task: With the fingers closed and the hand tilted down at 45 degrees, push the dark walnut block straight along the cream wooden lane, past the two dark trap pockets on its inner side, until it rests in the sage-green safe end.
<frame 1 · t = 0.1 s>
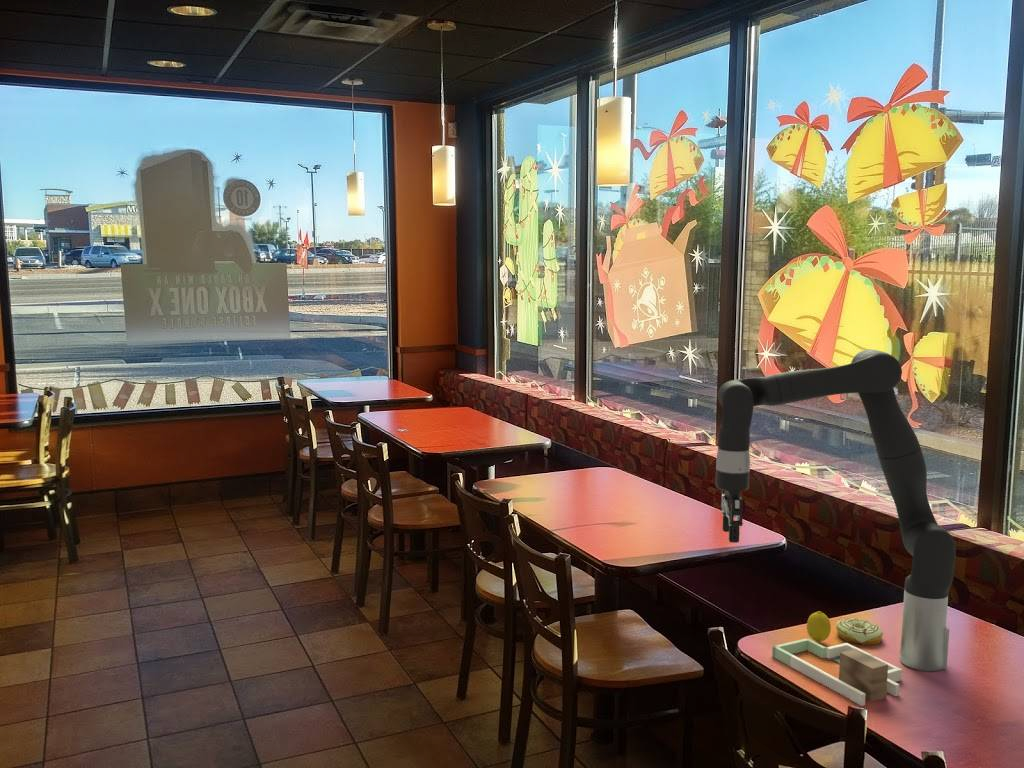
hand: (730, 536, 209), 29 cm above the table, tool pointing down, fingers open, 8 cm apart
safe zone: (801, 658, 212), on the table
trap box: (837, 677, 202), on the table
decorated donut: (858, 639, 224), on the table
block: (861, 691, 196), on the table
lemon: (817, 643, 221), on the table
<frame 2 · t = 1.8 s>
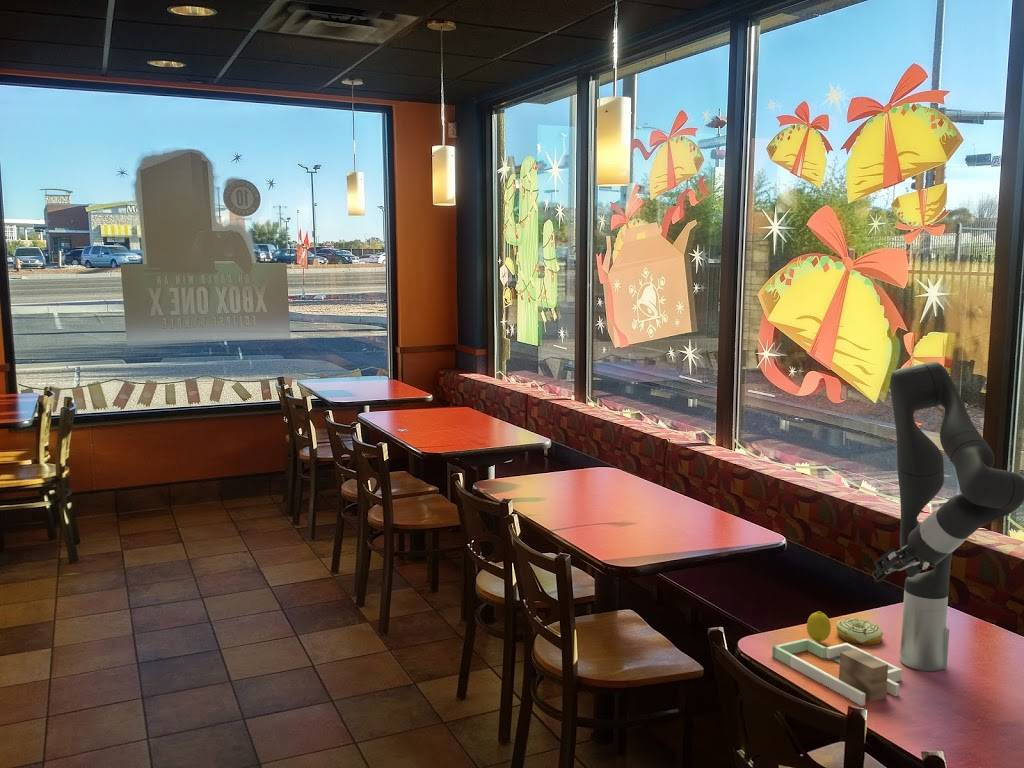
hand: (891, 575, 185), 28 cm above the table, tool tilted 45°, fingers open, 8 cm apart
nothing on the table moved.
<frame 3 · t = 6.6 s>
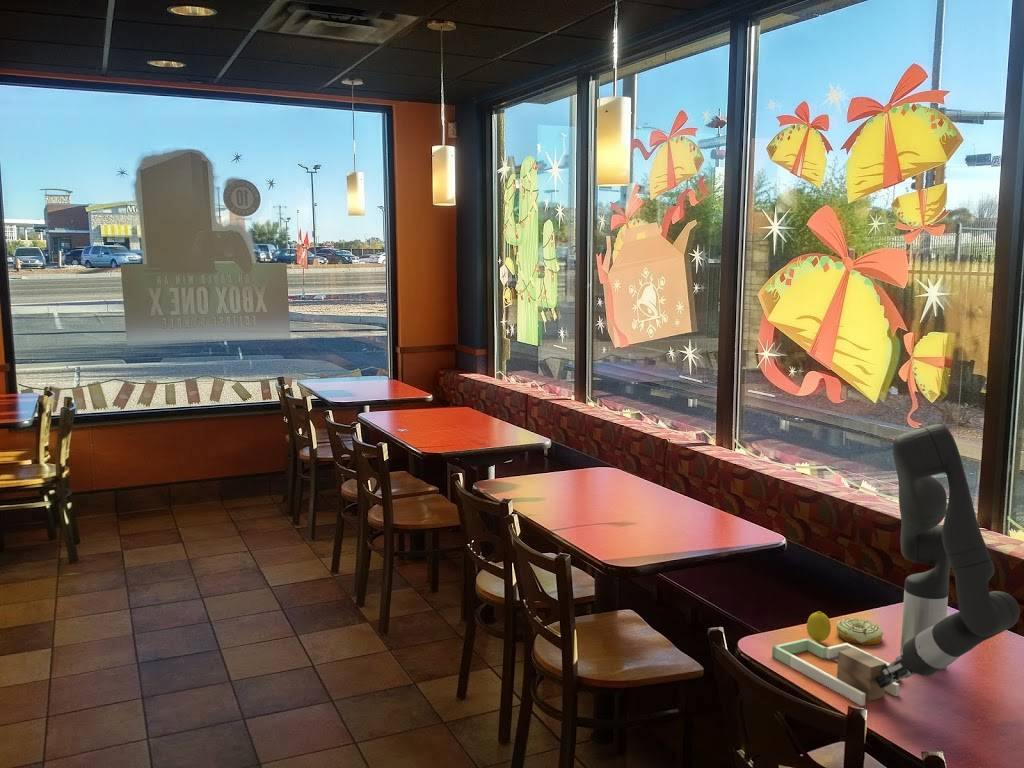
hand: (880, 683, 191), 4 cm above the table, tool tilted 45°, fingers closed
block: (860, 690, 196), on the table, touching gripper
everything else where it was.
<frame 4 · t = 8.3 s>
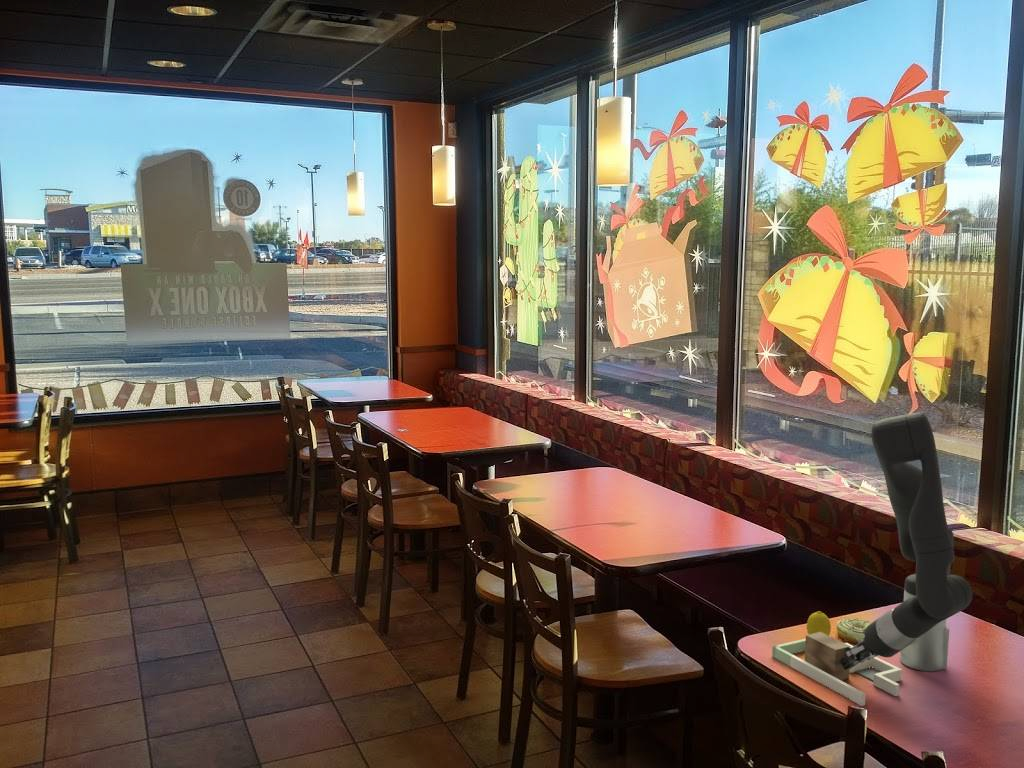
hand: (844, 665, 200), 4 cm above the table, tool tilted 45°, fingers closed
block: (826, 672, 205), on the table, touching gripper
everything else where it was.
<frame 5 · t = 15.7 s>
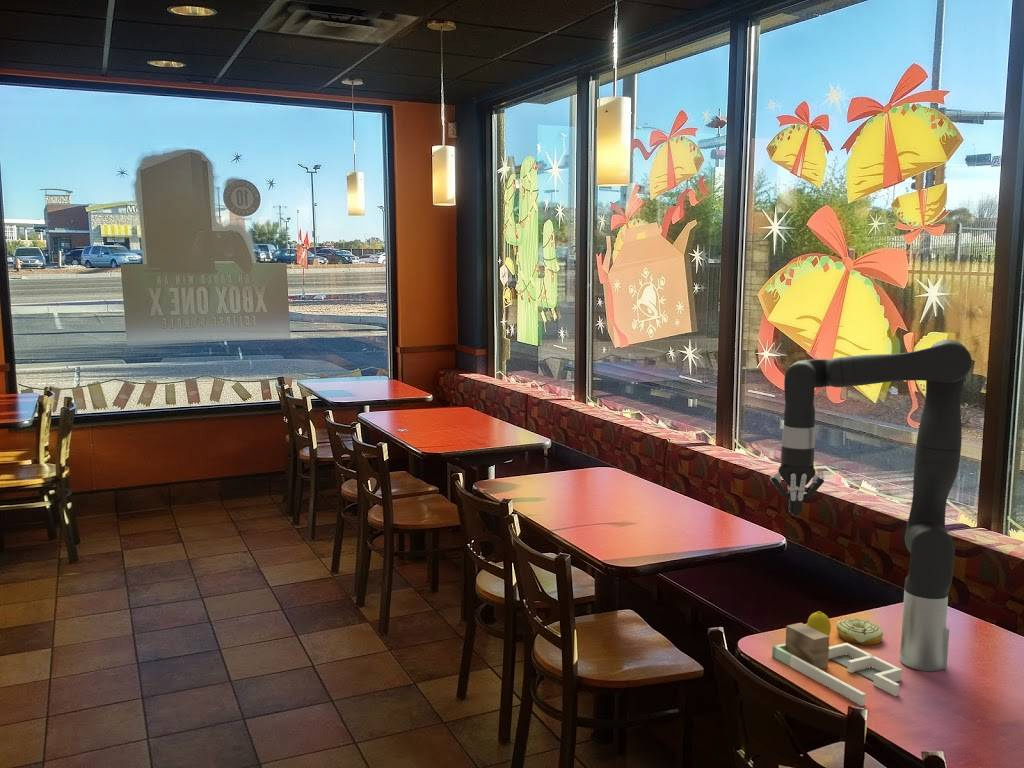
hand: (794, 514, 217), 32 cm above the table, tool pointing down, fingers closed
block: (806, 661, 210), on the table
everything else where it was.
at the end: block 1.5 cm from the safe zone (horizontally); block tilted 0° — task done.
